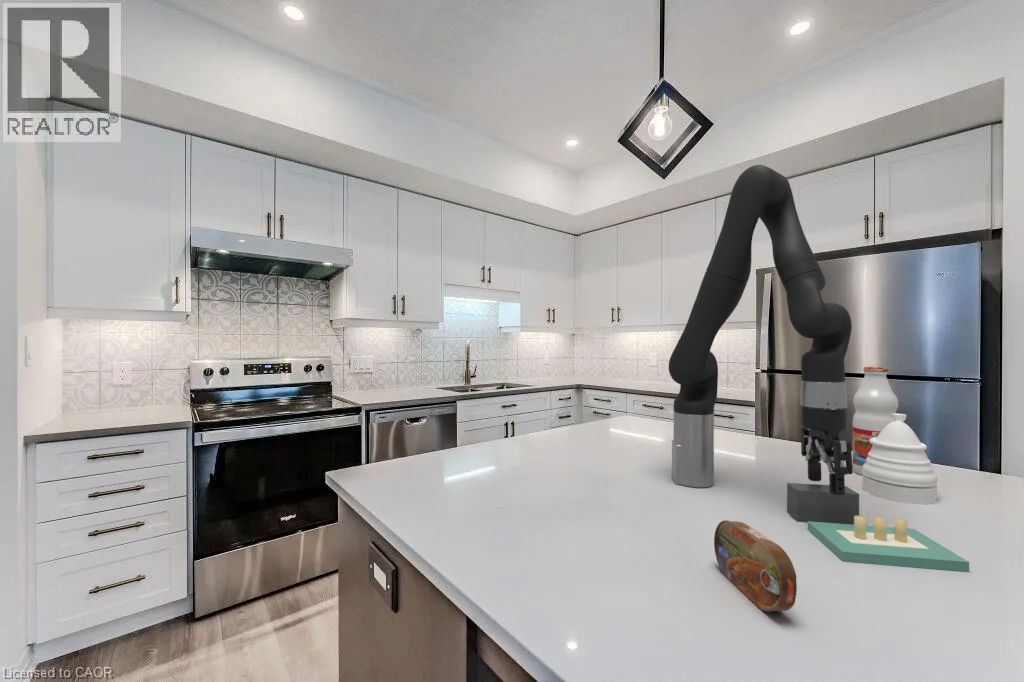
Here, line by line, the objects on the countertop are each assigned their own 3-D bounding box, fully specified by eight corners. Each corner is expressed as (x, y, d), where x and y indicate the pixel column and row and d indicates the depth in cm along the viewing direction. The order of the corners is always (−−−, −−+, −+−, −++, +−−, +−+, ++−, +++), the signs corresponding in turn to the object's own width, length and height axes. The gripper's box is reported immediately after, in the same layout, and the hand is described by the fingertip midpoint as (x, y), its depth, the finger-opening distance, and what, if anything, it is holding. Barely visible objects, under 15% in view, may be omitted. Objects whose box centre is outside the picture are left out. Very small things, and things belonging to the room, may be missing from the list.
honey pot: (866, 481, 110) (866, 409, 110) (938, 494, 101) (938, 415, 101) (857, 494, 101) (858, 415, 101) (935, 509, 92) (936, 422, 92)
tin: (712, 565, 69) (712, 511, 69) (731, 564, 69) (731, 510, 69) (778, 627, 54) (778, 558, 54) (802, 626, 54) (802, 557, 54)
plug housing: (797, 521, 86) (797, 490, 86) (787, 512, 90) (787, 482, 90) (859, 525, 84) (859, 493, 84) (845, 516, 88) (845, 486, 88)
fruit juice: (898, 473, 117) (898, 367, 117) (900, 482, 109) (900, 368, 109) (852, 467, 123) (853, 365, 123) (851, 475, 115) (852, 367, 115)
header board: (842, 561, 70) (842, 529, 70) (807, 529, 82) (807, 502, 82) (969, 571, 67) (969, 538, 67) (913, 537, 79) (913, 509, 79)
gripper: (786, 399, 95) (788, 476, 95) (820, 409, 81) (822, 498, 81) (825, 400, 93) (827, 477, 93) (867, 409, 79) (869, 500, 79)
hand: (825, 487), depth 87 cm, fingers open, 8 cm apart
